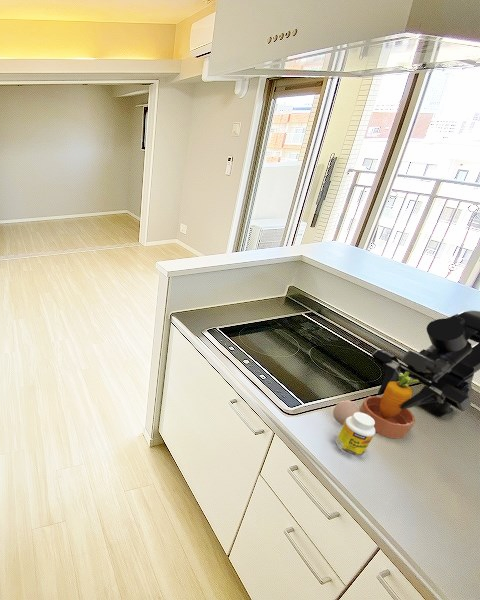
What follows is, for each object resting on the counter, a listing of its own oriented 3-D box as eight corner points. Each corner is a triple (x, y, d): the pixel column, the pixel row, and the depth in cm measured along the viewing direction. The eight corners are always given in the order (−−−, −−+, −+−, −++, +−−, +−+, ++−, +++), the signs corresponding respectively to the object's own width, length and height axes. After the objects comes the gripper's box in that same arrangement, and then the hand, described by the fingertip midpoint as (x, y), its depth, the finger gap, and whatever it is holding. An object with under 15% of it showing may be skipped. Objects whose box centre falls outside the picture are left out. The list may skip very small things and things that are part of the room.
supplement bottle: (340, 455, 79) (355, 425, 74) (331, 436, 84) (345, 407, 79) (367, 460, 78) (384, 430, 73) (357, 440, 83) (372, 411, 78)
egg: (327, 413, 91) (335, 393, 87) (349, 417, 89) (359, 397, 86) (333, 428, 86) (342, 407, 83) (357, 432, 85) (368, 412, 81)
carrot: (379, 409, 88) (402, 365, 81) (401, 422, 84) (427, 377, 77) (366, 414, 87) (389, 370, 80) (387, 428, 83) (413, 383, 76)
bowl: (373, 405, 92) (380, 392, 90) (416, 432, 84) (424, 418, 82) (348, 415, 90) (355, 402, 87) (389, 444, 81) (398, 430, 79)
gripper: (390, 322, 84) (343, 365, 86) (490, 366, 68) (428, 418, 70) (400, 341, 89) (355, 381, 92) (494, 386, 73) (436, 434, 76)
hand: (389, 401), depth 82 cm, fingers closed on carrot, 5 cm apart
